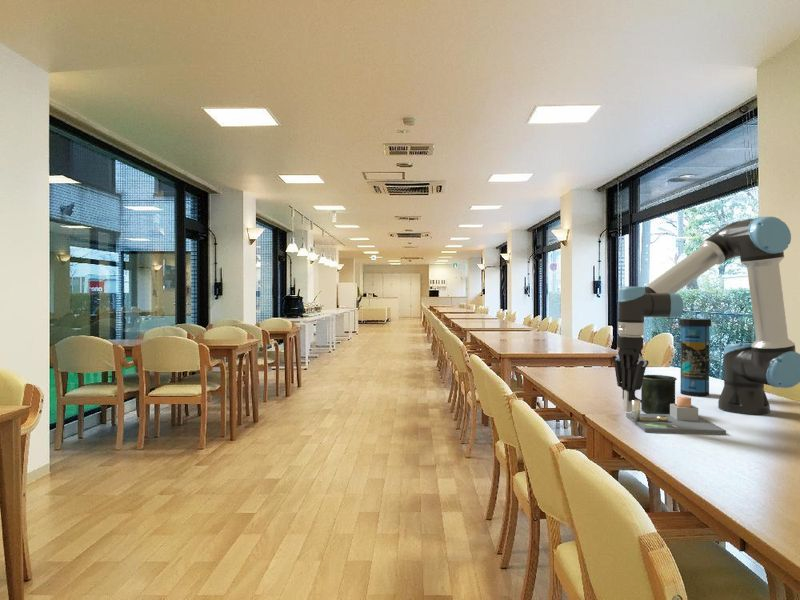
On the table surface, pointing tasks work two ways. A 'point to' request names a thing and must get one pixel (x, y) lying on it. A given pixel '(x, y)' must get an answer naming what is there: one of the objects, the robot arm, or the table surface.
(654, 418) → the brass ball-ended crank
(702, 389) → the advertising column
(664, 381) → the mug
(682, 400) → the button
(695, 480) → the table surface
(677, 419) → the tuner board
